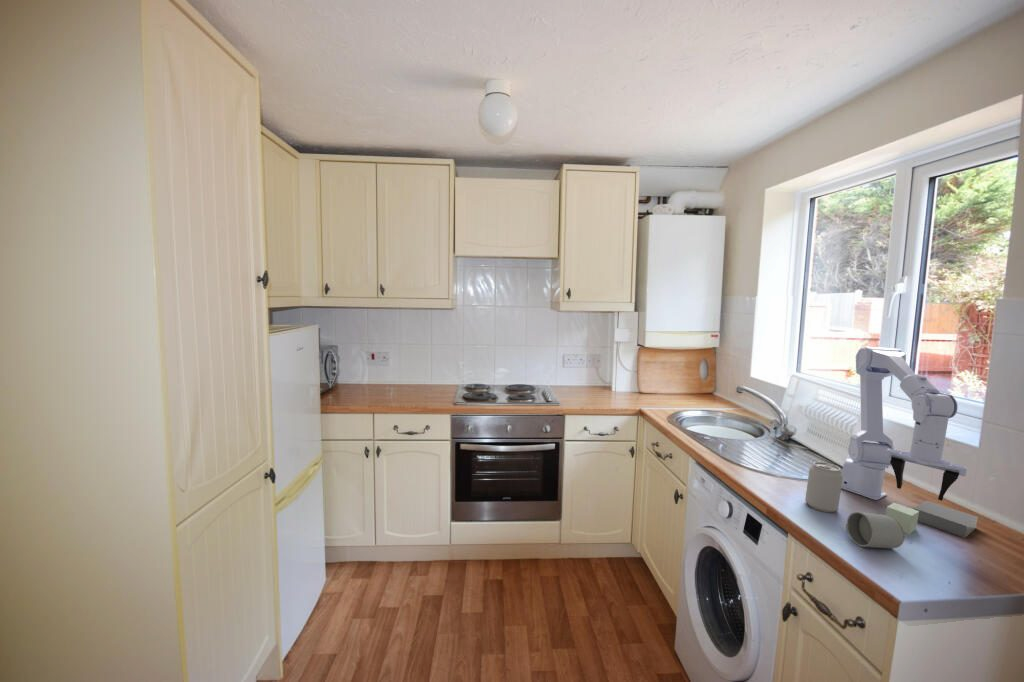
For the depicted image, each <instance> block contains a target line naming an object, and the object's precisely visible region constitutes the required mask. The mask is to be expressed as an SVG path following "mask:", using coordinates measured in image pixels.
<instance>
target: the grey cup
mask: <svg viewBox="0 0 1024 682" xmlns="http://www.w3.org/2000/svg"><path fill="white" fill-rule="evenodd" d="M845 529H846V531H847V533H848V535H849V537H850V539H851V540H852V542H853V543H854V544H855V545H858V546H859V547H862V548H872V549H873V548H874V549H876V548H877V549H888V550H889V549H890V550H891V549H897V548H899V547H901V546H902V545H903V543H904V541H905V533H904V532H903V529H902V527H901V525H900V524H899V523H898V522H897V521H896V520H895V519H893V518H891V517H889V516H886V514H879V513H878V514H877V513H871V512H863V511H853V512H851V513H850V514H849V515H848V517H847V519H846V523H845Z"/></svg>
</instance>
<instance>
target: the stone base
mask: <svg viewBox="0 0 1024 682" xmlns="http://www.w3.org/2000/svg"><path fill="white" fill-rule="evenodd" d="M913 509H914V510H917V511H919V515H918V521H917V522H920V523H923V524H926V525H928V526H930V527H934V528H937V529H940V530H941V531H944V532H948V533H950V534H953V535H955V536H959V537H961V538H963V539H964V538H967V537H968V536H969V535H970V534H971V533H972V532H973V531H974V530H975V529H976V528H977V524H978V519H979V517H978V516H977V515H973V514H970V513H967V512H964V511H960V510H957V509H955V508H951V507H949V506H945V505H943V504H938V503H935V502H932V501H929V500H925V501H924V502H923V501H922V503H920V504H919V505H917V506H915V507H914V508H913Z"/></svg>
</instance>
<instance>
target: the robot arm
mask: <svg viewBox="0 0 1024 682" xmlns="http://www.w3.org/2000/svg"><path fill="white" fill-rule="evenodd" d="M855 354H856V355H855V370H856V371H855V373H856V374H857V375H858V376H859V387H860V431H857V432H855V433H854V434H852V435H851V436H850V438H849V439H850V440H849V444H848V449H847V450H848V451H847V452H848V455H849V458H848V457H847V458H846V459H845V461H844V463H843V465H842V469H841V473H842V474H843V479H842V486H841V490H842V489H843V490H844V491H848V492H852V493H854V494H857V495H860V496H863V497H866V498H868V499H871V500H873V501H878V500H880V499H882V498H884V497H886V496H887V492H884V491H882V490H883V486H884V479H885V472H886V469H889V466H891V468H892V470H893V473H894V476H895V480H896V481H895V482H896V489H899V490H901V489H902V487H903V477H904V470H905V466H906V462H907V463H908V462H909V463H912V464H916V465H920V466H924V467H927V468H931V469H937V470H941V471H944V472H943V474H942V481H941V486H940V491H939V494H938V498H937V499H938V501H941V502H942V501H943V499H944V496H945V494H946V492H947V491H948V490H949V488H950V487H951V486H952V485H953V484H954V483H955V482H956V481H957V480H958V478H959V476H961V477H966V475H967V470H968V467H967V466H964V465H961V464H956V463H953V462H950V461H946V460H943V454H944V453H943V452H944V448H945V447H944V446H945V442H946V436H947V435H946V434H947V429H948V424H949V419H951V418H953V417H955V415H956V414H957V412H958V409H959V408H958V402H957V400H956V398H955V397H954V395H952V394H948V393H944V392H940V390H938V388H936V386H934V385H933V384H932V382H930V380H928V378H927V376H925V375H922V374H916V373H915V372H914V371H913V370H912V368H911V367H910V366H909V364H908V363H907V362H906V359H907V355H906V353H904V351H903V350H902V349H901V348H899V347H898V348H889V347H878V346H877V347H876V346H866V345H864V346H861V347H860V348H859V349H858V351H857V352H856V353H855ZM892 375H893V376H894V377H896V379H898V381H900V383H899V387H900V390H902V391H903V393H904V394H905V395H906V396H907V397H908V398H909V399H910V400H911V409H912V411H913V415H912V418H913V421H914V426H913V427H914V428H913V433H912V439H911V440H912V441H911V445H910V451H909V452H908V451H904V450H897V449H895V447H894V443H893V442H894V441H893V439H891V438H890V437H889V436H888V435H886V434H885V433H884V422H883V421H884V418H883V417H884V416H883V415H884V413H883V386H882V385H883V384H882V383H883V380H884V378H887V377H891V376H892Z"/></svg>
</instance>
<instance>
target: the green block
mask: <svg viewBox="0 0 1024 682" xmlns="http://www.w3.org/2000/svg"><path fill="white" fill-rule="evenodd" d="M885 515H886V516H889V517H891V518H893V519H895V520H896V521H897V522H898V523H899V524H900V525H901V527H902V529H903V532H904V534H907V535H911V534H912V533H914V532H915V531H916V530H917V527H918V522H919V521H918V515H919V511H917V510H914V508H911V507H908V506H905V505H902V504H899V503H896V502H892V503H891V504H889V505H887V506H886V510H885Z"/></svg>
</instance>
